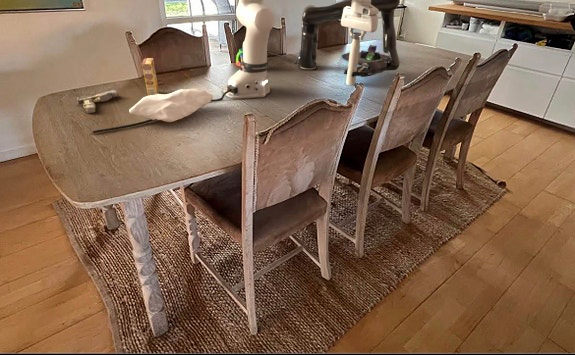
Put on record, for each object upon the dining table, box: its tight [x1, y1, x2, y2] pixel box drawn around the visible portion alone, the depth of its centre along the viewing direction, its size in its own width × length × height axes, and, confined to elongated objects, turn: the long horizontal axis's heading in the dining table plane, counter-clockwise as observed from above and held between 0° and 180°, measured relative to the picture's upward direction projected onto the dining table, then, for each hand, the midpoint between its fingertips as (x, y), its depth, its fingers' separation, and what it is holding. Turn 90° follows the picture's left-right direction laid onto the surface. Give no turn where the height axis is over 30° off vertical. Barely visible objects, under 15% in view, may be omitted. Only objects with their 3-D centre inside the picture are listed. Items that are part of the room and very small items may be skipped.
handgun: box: [76, 89, 120, 114], centre depth 155 cm, size 3×18×15 cm
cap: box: [351, 31, 362, 40], centre depth 178 cm, size 4×5×2 cm
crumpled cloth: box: [129, 88, 214, 123], centre depth 147 cm, size 24×35×9 cm
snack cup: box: [235, 47, 243, 63], centre depth 205 cm, size 16×10×10 cm
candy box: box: [141, 57, 160, 96], centre depth 163 cm, size 9×4×15 cm, turn 13°
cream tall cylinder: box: [345, 39, 361, 87], centre depth 184 cm, size 5×5×25 cm
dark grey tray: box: [341, 44, 390, 65], centre depth 232 cm, size 35×35×9 cm
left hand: (356, 38), depth 178 cm, fingers closed on cap, 4 cm apart
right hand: (348, 73), depth 186 cm, fingers closed on cream tall cylinder, 4 cm apart
